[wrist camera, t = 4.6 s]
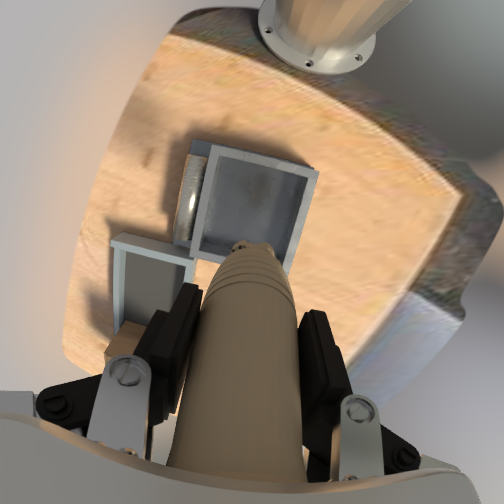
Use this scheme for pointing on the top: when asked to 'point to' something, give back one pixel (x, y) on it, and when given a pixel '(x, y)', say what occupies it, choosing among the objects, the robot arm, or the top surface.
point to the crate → (124, 340)
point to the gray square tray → (241, 202)
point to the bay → (147, 277)
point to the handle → (243, 376)
